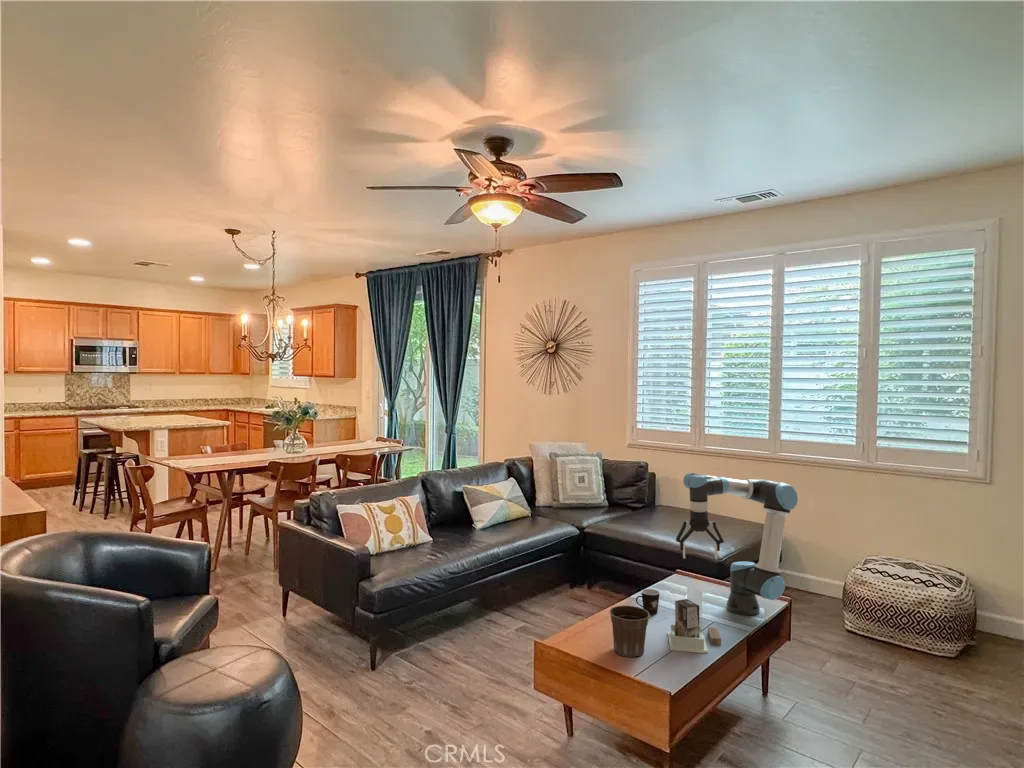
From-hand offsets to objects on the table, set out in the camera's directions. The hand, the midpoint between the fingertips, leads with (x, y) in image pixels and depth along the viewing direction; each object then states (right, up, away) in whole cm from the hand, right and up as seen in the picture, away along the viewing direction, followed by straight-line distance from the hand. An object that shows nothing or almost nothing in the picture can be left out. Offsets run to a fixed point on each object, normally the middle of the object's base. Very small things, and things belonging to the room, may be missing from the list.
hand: (700, 558), depth 268 cm
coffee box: (-8, -33, -10) cm, 35 cm away
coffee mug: (-18, -34, +25) cm, 45 cm away
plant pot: (-35, -34, -18) cm, 52 cm away
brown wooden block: (+5, -34, -5) cm, 35 cm away
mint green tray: (-9, -34, -10) cm, 36 cm away
